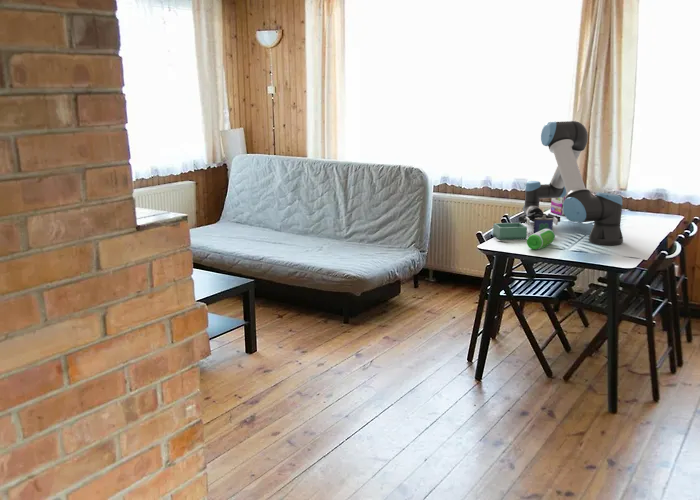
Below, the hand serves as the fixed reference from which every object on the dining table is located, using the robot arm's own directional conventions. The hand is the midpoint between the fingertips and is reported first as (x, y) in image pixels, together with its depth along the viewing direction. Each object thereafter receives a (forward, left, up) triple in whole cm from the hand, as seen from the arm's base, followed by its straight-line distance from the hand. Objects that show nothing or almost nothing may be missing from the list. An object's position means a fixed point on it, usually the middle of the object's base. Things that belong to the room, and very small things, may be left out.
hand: (542, 222), depth 325 cm
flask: (-1, 0, -7) cm, 7 cm away
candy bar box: (+52, -30, -7) cm, 61 cm away
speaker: (-21, +9, -7) cm, 24 cm away
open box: (-1, +17, -7) cm, 18 cm away
